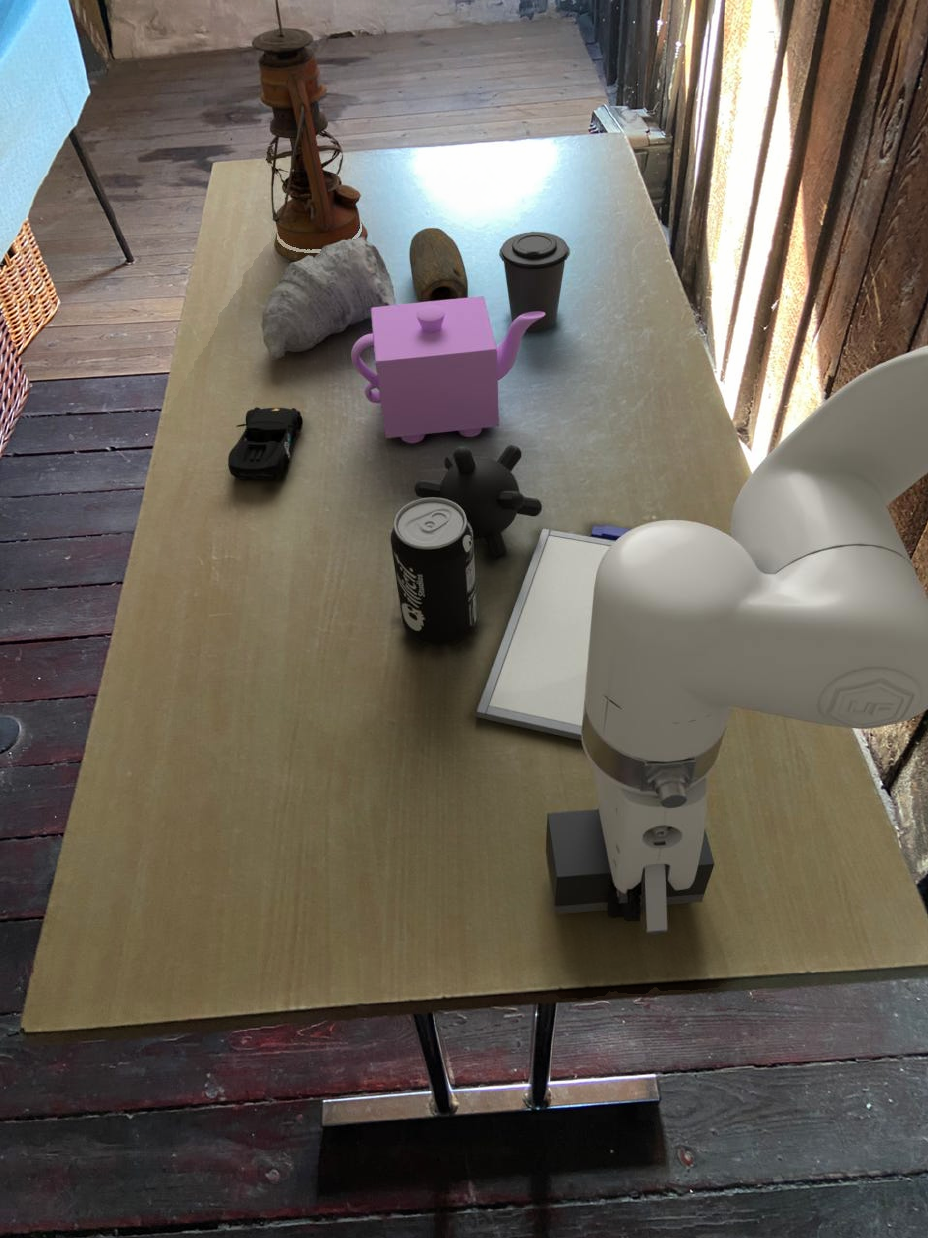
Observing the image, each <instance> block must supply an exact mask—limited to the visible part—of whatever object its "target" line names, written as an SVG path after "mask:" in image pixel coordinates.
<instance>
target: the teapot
mask: <svg viewBox="0 0 928 1238" xmlns="http://www.w3.org/2000/svg"><path fill="white" fill-rule="evenodd" d="M544 316H545V312H541V311H535V312H528V313H525V314H522V315H520V316H519V317H517V318H516V319H515V320H514V321H513V323H512V322H511V324H510V325H509V328H508V330H507V333H506V335H505V338H504V339H503V341H502V342H501V343H500V344H499V345H496V340H495V337H494V332H493V328H492V324H491V320H490V316H489V311H488V308H487V304H486V300H485V297H484V296H471V297H470V296H469V297H467V298H459V299H449V300H439V301H429V302H412V303H411V302H410V303H401V304H396V305H391V306H382V307H373V308H371V327H372V333H368V334H365V335H363V336H361V337H360V338H358V340H356V341H355V343H354V345H353V346H352V349H351V352H350V358H351V362H352V365H353V367H354V368H355V369H356V371H357V372H358V373H359V374H360V375H361V376H362V377H363V378H364V379H365V380H366V381H367V382H368V383H366V385H365V387H364V395H365V398H366V399H367V400H368V401H369V402H370V403H373V404H380V405H381V413H382V420H383V421H382V422H383V427H384V434H385V435H384V436H385V439H392V438H401V440H402V441H403V442H405V443H408V444H416V443H419V442H421V441H422V440H424V439H425V436H426V435H429V434H436V433H437V434H439V433H447V432H457V431H458V433H459V434H460V435H461V436H463V437H466V438H473V437H476V436H478V435H479V434H481V432H482V430H483V429H485V428H493V427H494V428H495V427H499V425H500V424H499V423H500V421H499V419H500V418H499V416H500V415H499V381H500V380H502V379H503V378H505V376H507V375H508V374H509V372H510V371H511V370H512V368H513V367H514V364H515V362H516V359H517V356H518V352H519V349H520V346H521V342H522V340H523V336H524V334H525V333H526V332H525V331H526V330H527V328H528V327H529V326H530V325H531V324H532V323H534V322H535V321H537V320H538V319H540V318H542V317H544ZM369 347H373V349H374V360H375V361H374V362H375V370H376V372H374V371H373V370H372V369H371V368H370V367H369V366H367V364H366V363H365V362H364V361H363V359H362V358H361V356H360V354H361V353H362V352H363V351H365V350H366V349H367V348H369ZM374 389H377V391H378V392H377V391H376V392H375V391H372V390H374Z"/></svg>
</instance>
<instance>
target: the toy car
mask: <svg viewBox="0 0 928 1238" xmlns="http://www.w3.org/2000/svg"><path fill="white" fill-rule="evenodd" d="M245 414H246V415H245V423H242V424H238V425H236V426H235V427H236V428H239V427H245V429H244V431H243V433H242V435H241V437H240V438H239V440H238V441H237V442H236V444H235V445H234V446H233V447H232V448H231V450H230V452H229V454H228V458H227V467H228V470H229V472H230V475H231V476H233V477H235V478H237V479H240V480H243V479H259V480H261V479H267V480H270V481H271V480H276V479H279V478H282V477H284V475H287V473H288V471H289V464H290V463H291V458H292V453H293V448H294V446H295V443H296V439H297V437H298V434H299V432H300V431H301V430H302V428H303V423H304V420H303V417H302V415H301V412H300V411H299V410H297V408H296V407H292V408H288V407H269V408H268V407H266V408H260V407H254V408H253V409H249V410H247V411H246V413H245Z"/></svg>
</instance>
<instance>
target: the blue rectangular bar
mask: <svg viewBox="0 0 928 1238" xmlns="http://www.w3.org/2000/svg"><path fill="white" fill-rule="evenodd" d="M603 527H604V528H603V531H602V536H607V537H613V538H619V537H621V536H622V535H624V534H625V533H626V532H628V531H630V530H632V529H631V528H625V527H619V526H612V525H607V524H604V525H603Z"/></svg>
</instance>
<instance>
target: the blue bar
mask: <svg viewBox="0 0 928 1238" xmlns="http://www.w3.org/2000/svg"><path fill="white" fill-rule="evenodd" d="M603 528H604V526H600V525H599V526H597V525H593V527H592V530H591V532H590V537H595V538H600V539H606V540H612V541H616V540H617V539H618V538H613V537H607V536H602V531H603Z"/></svg>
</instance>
